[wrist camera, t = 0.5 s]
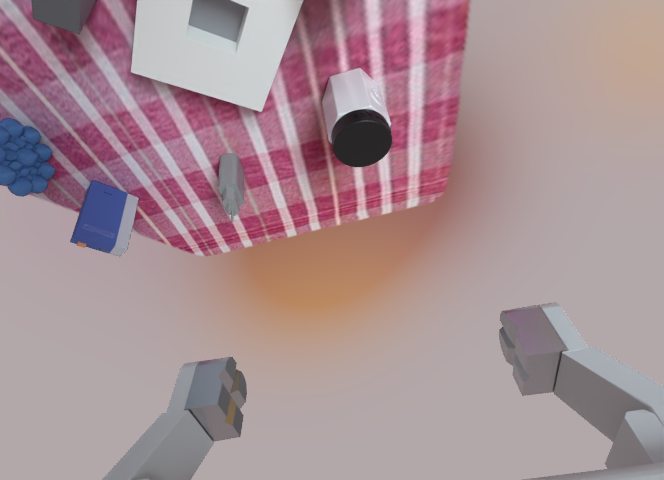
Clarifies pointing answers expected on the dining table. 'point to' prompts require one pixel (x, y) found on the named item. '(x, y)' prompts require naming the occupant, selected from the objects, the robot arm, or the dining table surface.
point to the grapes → (23, 159)
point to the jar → (356, 119)
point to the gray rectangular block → (63, 13)
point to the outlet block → (214, 45)
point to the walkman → (105, 219)
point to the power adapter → (231, 183)
